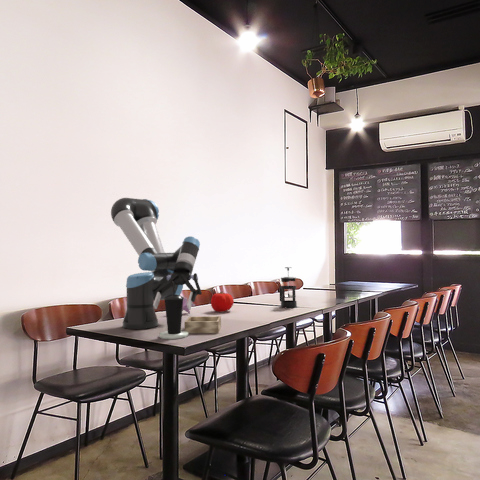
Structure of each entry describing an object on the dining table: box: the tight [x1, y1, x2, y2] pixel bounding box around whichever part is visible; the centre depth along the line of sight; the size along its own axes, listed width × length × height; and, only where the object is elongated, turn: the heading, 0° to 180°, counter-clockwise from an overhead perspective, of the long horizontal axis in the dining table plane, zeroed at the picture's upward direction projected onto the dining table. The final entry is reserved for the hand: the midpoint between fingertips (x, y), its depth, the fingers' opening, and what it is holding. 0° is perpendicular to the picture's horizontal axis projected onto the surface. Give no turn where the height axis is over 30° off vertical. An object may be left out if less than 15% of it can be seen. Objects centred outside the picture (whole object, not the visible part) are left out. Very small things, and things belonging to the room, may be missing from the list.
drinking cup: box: [163, 281, 185, 334], centre depth 160 cm, size 8×8×20 cm
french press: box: [279, 266, 298, 309], centre depth 240 cm, size 12×9×23 cm
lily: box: [182, 297, 196, 314], centre depth 217 cm, size 12×12×10 cm
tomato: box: [210, 291, 235, 313], centre depth 224 cm, size 13×12×11 cm
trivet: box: [158, 330, 189, 340], centre depth 160 cm, size 11×11×1 cm
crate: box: [184, 315, 222, 334], centre depth 172 cm, size 14×14×4 cm
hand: (171, 307), depth 158 cm, fingers open, 13 cm apart
